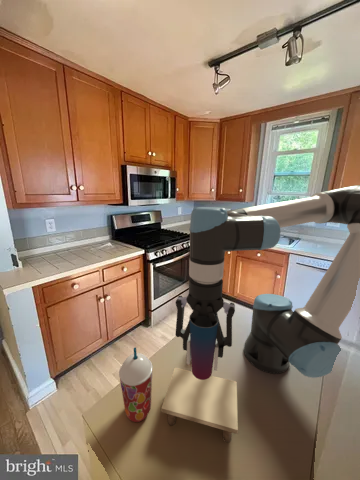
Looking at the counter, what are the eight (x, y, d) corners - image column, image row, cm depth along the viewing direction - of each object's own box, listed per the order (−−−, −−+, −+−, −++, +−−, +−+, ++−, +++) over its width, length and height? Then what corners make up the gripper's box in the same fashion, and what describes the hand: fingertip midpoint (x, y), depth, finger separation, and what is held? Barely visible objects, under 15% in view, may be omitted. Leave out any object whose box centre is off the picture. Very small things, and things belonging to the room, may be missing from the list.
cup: (183, 375, 48) (184, 321, 45) (194, 355, 54) (196, 307, 50) (210, 388, 45) (213, 331, 42) (219, 366, 51) (222, 314, 47)
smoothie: (155, 395, 58) (153, 336, 53) (151, 428, 49) (149, 362, 45) (127, 395, 58) (122, 336, 53) (118, 428, 49) (112, 362, 45)
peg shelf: (235, 398, 57) (236, 381, 55) (235, 450, 45) (237, 430, 44) (174, 383, 61) (174, 367, 60) (161, 427, 50) (161, 408, 48)
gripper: (249, 275, 45) (241, 359, 51) (170, 267, 50) (170, 344, 55) (252, 290, 38) (242, 386, 44) (159, 279, 43) (161, 367, 48)
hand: (202, 362), depth 49 cm, fingers closed on cup, 6 cm apart
